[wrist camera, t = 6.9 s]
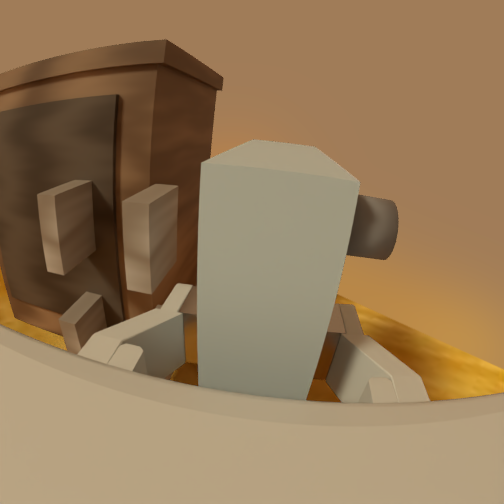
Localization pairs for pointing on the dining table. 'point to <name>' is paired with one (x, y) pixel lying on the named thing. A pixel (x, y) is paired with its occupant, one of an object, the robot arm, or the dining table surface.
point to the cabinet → (102, 183)
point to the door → (276, 262)
